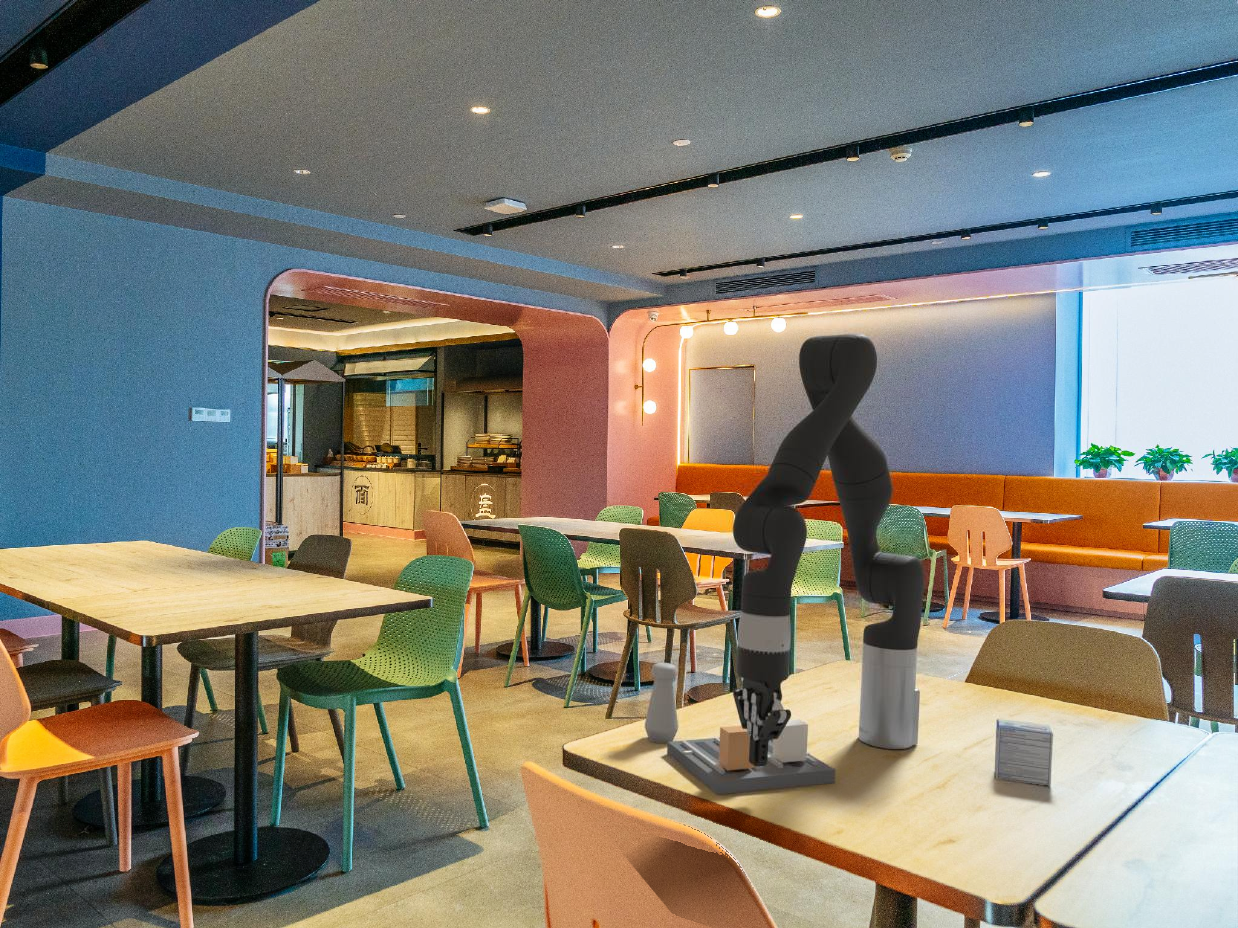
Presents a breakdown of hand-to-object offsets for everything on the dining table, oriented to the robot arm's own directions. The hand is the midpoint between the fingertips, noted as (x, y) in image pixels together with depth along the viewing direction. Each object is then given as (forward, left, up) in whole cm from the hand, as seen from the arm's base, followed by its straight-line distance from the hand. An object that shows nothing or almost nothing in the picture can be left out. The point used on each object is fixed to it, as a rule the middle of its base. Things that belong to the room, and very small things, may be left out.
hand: (757, 764), depth 126 cm
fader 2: (-10, -8, -3) cm, 13 cm away
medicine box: (-46, +3, -5) cm, 47 cm away
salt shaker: (+3, -28, -5) cm, 28 cm away
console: (-5, -12, -5) cm, 14 cm away
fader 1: (0, -7, -3) cm, 7 cm away
